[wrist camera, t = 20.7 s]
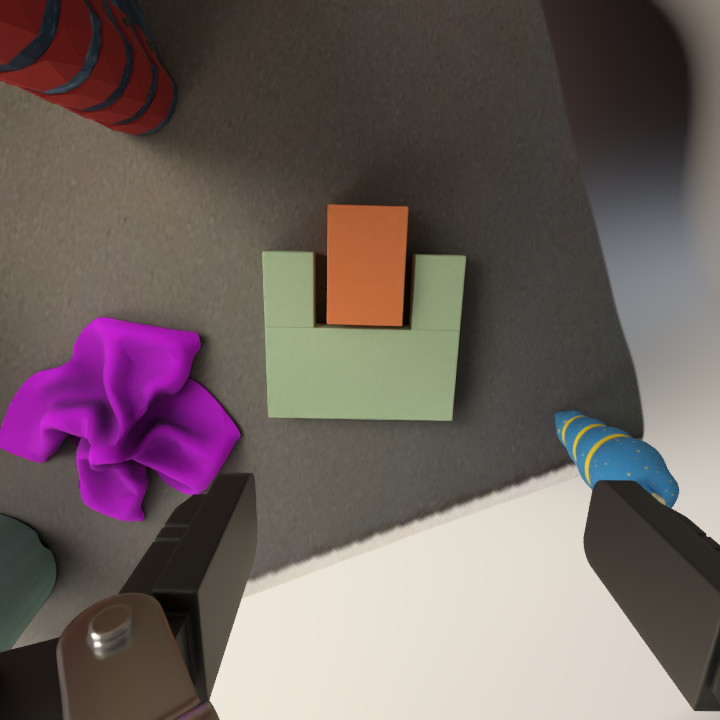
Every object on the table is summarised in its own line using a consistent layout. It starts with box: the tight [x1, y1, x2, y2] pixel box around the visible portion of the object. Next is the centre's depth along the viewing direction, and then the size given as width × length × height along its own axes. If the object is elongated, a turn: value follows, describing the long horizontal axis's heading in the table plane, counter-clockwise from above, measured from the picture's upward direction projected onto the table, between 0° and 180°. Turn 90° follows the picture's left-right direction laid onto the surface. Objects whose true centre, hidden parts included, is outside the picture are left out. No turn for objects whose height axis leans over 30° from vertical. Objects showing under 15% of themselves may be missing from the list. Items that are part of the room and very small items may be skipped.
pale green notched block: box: [262, 250, 466, 421], centre depth 37 cm, size 16×14×2 cm
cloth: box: [0, 317, 241, 521], centre depth 37 cm, size 22×19×6 cm
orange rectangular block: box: [327, 204, 409, 326], centre depth 35 cm, size 6×9×3 cm, turn 178°
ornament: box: [555, 411, 679, 508], centre depth 33 cm, size 5×5×15 cm
